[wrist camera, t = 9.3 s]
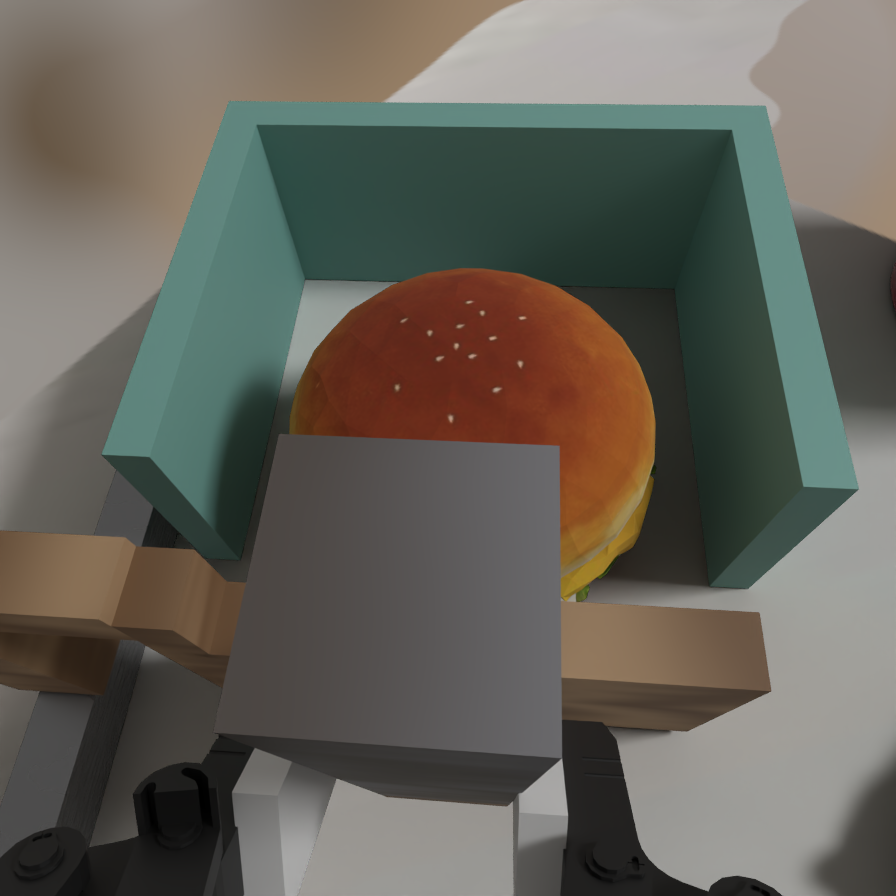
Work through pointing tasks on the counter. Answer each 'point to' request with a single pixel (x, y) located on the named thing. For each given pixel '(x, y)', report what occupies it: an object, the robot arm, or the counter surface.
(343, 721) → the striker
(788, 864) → the counter surface
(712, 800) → the counter surface
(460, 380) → the burger
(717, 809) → the counter surface
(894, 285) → the canister
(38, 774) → the rail
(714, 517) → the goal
